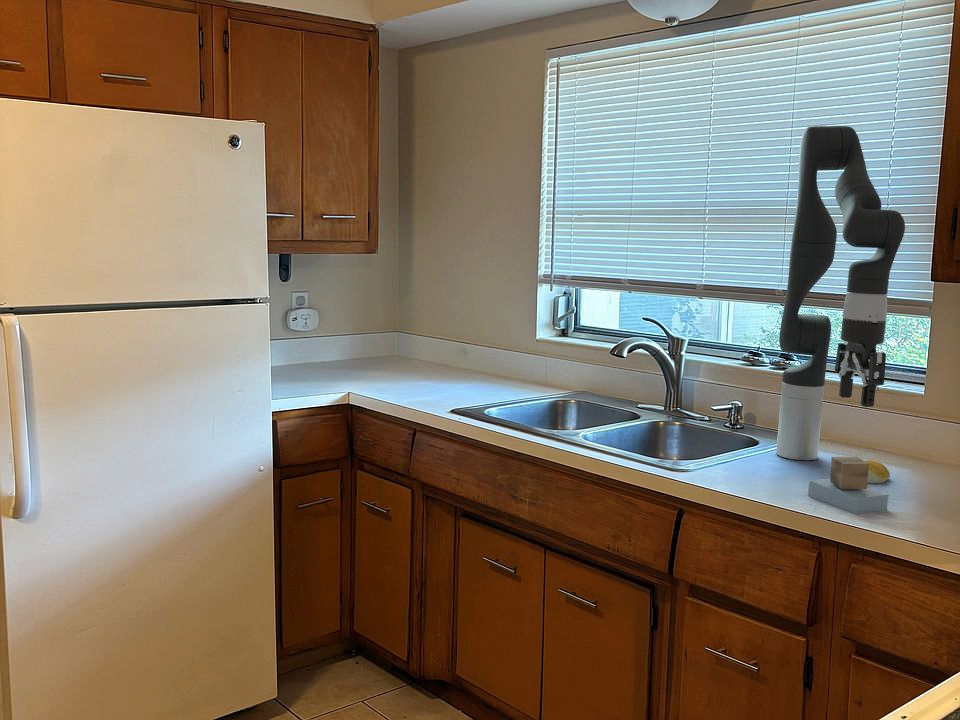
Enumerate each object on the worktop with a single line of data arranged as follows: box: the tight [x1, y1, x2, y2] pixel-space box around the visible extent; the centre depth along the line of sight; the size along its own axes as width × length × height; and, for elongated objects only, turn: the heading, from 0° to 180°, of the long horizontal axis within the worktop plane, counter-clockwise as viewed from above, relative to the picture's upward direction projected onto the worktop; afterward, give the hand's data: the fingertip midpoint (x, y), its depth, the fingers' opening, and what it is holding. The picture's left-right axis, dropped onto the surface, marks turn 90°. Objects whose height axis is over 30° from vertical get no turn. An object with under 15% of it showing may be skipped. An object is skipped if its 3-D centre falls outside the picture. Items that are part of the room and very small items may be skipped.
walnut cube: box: [829, 456, 869, 489], centre depth 172 cm, size 5×5×5 cm
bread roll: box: [864, 460, 891, 484], centre depth 191 cm, size 8×9×4 cm
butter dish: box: [807, 478, 889, 515], centre depth 173 cm, size 12×8×4 cm, turn 24°
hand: (855, 401), depth 170 cm, fingers open, 8 cm apart
